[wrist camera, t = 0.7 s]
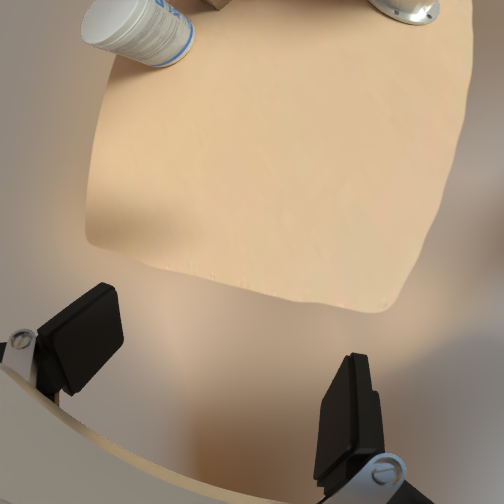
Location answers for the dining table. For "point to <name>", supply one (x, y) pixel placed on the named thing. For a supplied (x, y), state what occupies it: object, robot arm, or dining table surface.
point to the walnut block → (217, 3)
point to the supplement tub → (139, 30)
